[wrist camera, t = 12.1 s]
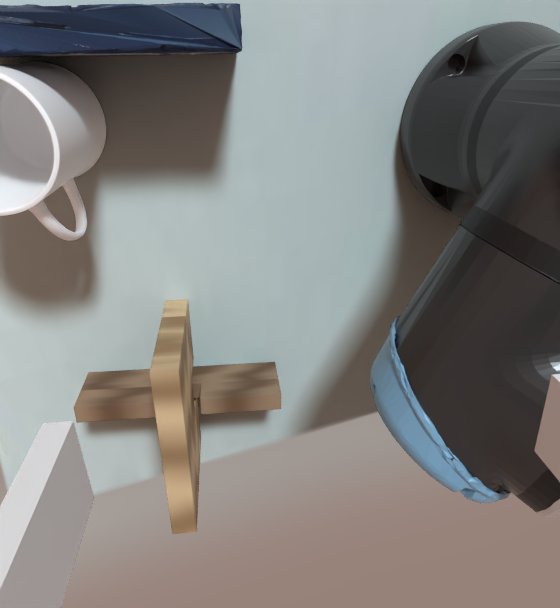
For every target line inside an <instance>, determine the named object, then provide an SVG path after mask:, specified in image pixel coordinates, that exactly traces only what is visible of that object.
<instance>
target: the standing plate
mask: <svg viewBox="0 0 560 608" xmlns="http://www.w3.org/2000/svg"><path fill="white" fill-rule="evenodd" d="M192 384H193V394H194V398H200V402H201V414H213V413H228V412H243V411H258V410H274V409H281V391H280V386H279V381H278V376H277V371H276V365H275V362H268V363H250V364H232V365H214V366H197V367H193V368H192ZM74 411H75V416H76V421H77V422H92V421H107V420H122V419H137V418H153V417H156V415H155V408H154V401H153V394H152V387H151V380H150V369H143V370H126V371H108V372H90V373H88V375H87V378H86V380H85V382H84V385H83V387H82V389H81V392H80V394H79V396H78V399H77V401H76V403H75V406H74Z"/></svg>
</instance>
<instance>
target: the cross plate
mask: <svg viewBox="0 0 560 608" xmlns="http://www.w3.org/2000/svg"><path fill="white" fill-rule="evenodd" d="M192 368H193V348H192V337H191V327H190V316H189V306H188V299H187V300H169V301H166V302H165V306H164V311H163V315H162V320H161V324H160V328H159V333H158V337H157V342H156V346H155V351H154V355H153V359H152V364H151V368H150V380H151V387H152V394H153V401H154V408H155V415H156V422H157V429H158V436H159V443H160V450H161V457H162V464H163V471H164V477H165V484H166V492H167V499H168V505H169V512H170V520H171V527H172V533H173V534H177V533H187V532H196V531H197V513H198V491H199V470H200V449H201V431H200V420H199V410H198V400H197V398H194V394H193V384H192Z"/></svg>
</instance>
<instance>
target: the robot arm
mask: <svg viewBox="0 0 560 608" xmlns="http://www.w3.org/2000/svg"><path fill="white" fill-rule="evenodd" d="M401 151H402V157H403V161H404V164H405V168H406V170H407V173H408V175H409V177H410V179H411V181H412V182H413V184H414V185H415V187H416V188H417V189H418V191H419V192H420V193H421V194H422V195H423V196H424V197H425V198H426V199H428V200H429V201H430V202H432V203H433V204H435V205H436V206H438V207H440V208H441V209H443V210H445V211H446V212H448V213H451V214H453V215H456V216H459V217H462V218H464V219H463V221H462V223H461V224H460V225H459V227H458V228H457V230H456V231H455V233H454V234H453V236H452V238H451V239H450V241H449V242H448V244H447V245H446V247H445V248H444V250H443V251H442V253H441V254H440V256H439V258H438V259H437V261H436V262H435V264H434V265H433V267H432V268H431V270H430V271H429V273H428V275H427V276H426V278H425V279H424V281H423V282H422V284H421V285H420V287H419V288H418V290H417V292H416V293H415V295H414V296H413V298H412V299H411V301H410V302H409V304H408V305H407V307H406V309H405V310H404V312H403V313H402V315H401V316H399V317H397V318H396V319H395V320H394V321H393V323H392V325H391V328H390V334H389V336H388V338H387V339H386V341H385V343H384V345H383V346H382V348H381V350H380V352H379V353H378V355H377V357H376V359H375V360H374V362H373V365H372V368H371V373H370V386H371V391H372V395H373V397H374V399H375V405H376V408H377V410H378V412H379V414H380V416H381V418H382V420H383V421H384V423H385V425H386V426H387V428H388V429H389V431H390V432H391V434H392V435H393V437H394V438H395V439H396V441H397V442H398V443H399V444H400V445H401V446H402V448H403V449H404V450H405V451H406V452H407V454H408V455H409V456H411V458H412V459H413V460H414V461H415V462H416V463H417V464H418V465H419V466H420V467H422V469H423V470H425V471H426V472H427V473H428V474H429V475H430V476H431V477H433V478H434V479H435V480H436V481H438V482H439V483H441V484H442V485H444V486H445V487H447V488H448V489H450V490H451V491H453V492H458V491H461V493H462V494H463V495H464V496H465V497H466V498H467V499H469V500H472V501H475V502H479V503H492V502H496V501H498V500H501V499H505V498H507V497H508V496H509V494H510V493H513V494H514V495H515V496H517V497H518V498H519V499H520V500H522V501H523V502H524V503H525V504H527V505H528V506H529V507H530V508H532V509H533V510H534V511H535V512H537V513H538V514H540V515H541V516H560V34H559V33H557V32H556V31H554V30H552V29H550V28H548V27H545V26H542V25H539V24H535V23H529V22H505V23H498V24H492V25H487V26H483V27H479V28H476V29H474V30H471V31H469V32H467V33H465V34H463V35H461V36H459V37H457V38H456V39H454V40H453V41H451V42H450V43H449V44H447V45H446V46H445V47H444V48H442V49H441V50H440V51H439V52H438V53H437V54H436V55H435V56H434V57H433V58H432V59H431V60H430V62H429V63H428V64H427V65H426V67H425V68H424V69H423V71H422V72H421V74H420V75H419V77H418V78H417V80H416V82H415V84H414V86H413V88H412V90H411V92H410V94H409V97H408V99H407V102H406V105H405V109H404V112H403V117H402V123H401ZM93 501H94V495H93V492H92V488H91V485H90V481H89V477H88V474H87V470H86V466H85V463H84V459H83V455H82V452H81V448H80V444H79V441H78V437H77V433H76V430H75V426H74V422H73V421H65V422H55V423H44V424H42V426H41V428H40V430H39V432H38V434H37V436H36V438H35V440H34V442H33V444H32V446H31V448H30V450H29V452H28V453H27V455H26V457H25V459H24V461H23V463H22V465H21V467H20V469H19V471H18V473H17V475H16V477H15V479H14V481H13V483H12V485H11V487H10V488H9V490H8V492H7V494H6V496H5V498H4V501H3V502H2V504H1V506H0V608H61V606H62V603H63V599H64V596H65V593H66V590H67V587H68V583H69V580H70V577H71V573H72V570H73V566H74V563H75V560H76V557H77V554H78V550H79V547H80V544H81V541H82V537H83V534H84V531H85V527H86V524H87V521H88V517H89V514H90V511H91V508H92V504H93Z"/></svg>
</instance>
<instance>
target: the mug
mask: <svg viewBox="0 0 560 608" xmlns="http://www.w3.org/2000/svg"><path fill="white" fill-rule="evenodd" d="M105 141H106V122H105V117H104V113H103V110H102V108H101V105H100V103H99V101H98V100H97V98H96V96H95V95H94V93H93V92H92V90H91V89H90V88H89V87H88V86H87V85H86V84H85V83H84V82H83V81H82V80H81V79H80V78H79V77H78V76H76V75H75V74H73V73H72V72H70V71H68V70H67V69H65V68H62V67H60V66H57V65H54V64H51V63H46V62H27V63H22V64H19V65H0V216H5V215H12V214H17V213H20V212H23V211H26V210H29V211H31V212H32V213H33V214H34V215H35V217H36V218H37V219H38V220H39V221H40V222H41V223H42V224H43V225H44V226H45V227H46V228H47V229H48V230H49V231H50V232H52V233H53V234H54V235H56V236H57V237H59V238H61V239H64V240H67V241H73V240H77V239H79V238H81V237H82V236H83V235H84V234H85V232H86V228H87V217H86V211H85V207H84V204H83V201H82V198H81V196H80V193H79V191H78V188H77V186H76V184H75V181H74V178H75V177H78V176H80V175H82V174H83V173H85V172H87V171H88V170H89V169H90V168H91V167H92V166H93V165H94V164H95V163H96V162H97V160H98V159H99V157H100V156H101V154H102V151H103V149H104V145H105ZM61 186H63V188H64V189H65V191H66V193H67V194H68V197H69V199H70V201H71V204H72V207H73V210H74V213H75V218H76V230H75V232H72V231H70V230H68V229H67V228H65V227H64V226H63V225H62V224H61V223H60V222H58V220H57V219H56V218H55V217H54V216H53V215H52V214H51V212H50V211H49V210H48V208H47V207H46V205H45V203H44V201H43V199H45V198H46V197H47V196H49V195H50V194H51V193H53V192H54V191H55V190H57V189H58V188H59V187H61Z"/></svg>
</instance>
